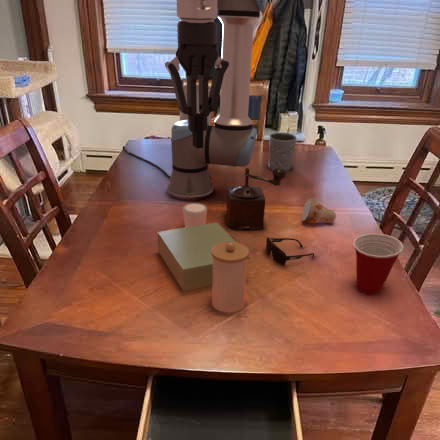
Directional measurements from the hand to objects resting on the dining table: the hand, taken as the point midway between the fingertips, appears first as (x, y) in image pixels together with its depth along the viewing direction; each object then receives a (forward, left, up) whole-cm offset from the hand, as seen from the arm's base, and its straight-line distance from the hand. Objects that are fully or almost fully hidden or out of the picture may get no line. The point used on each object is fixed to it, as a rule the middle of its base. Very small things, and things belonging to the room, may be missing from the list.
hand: (197, 146), depth 100 cm
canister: (+17, -7, -30) cm, 35 cm away
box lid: (+1, 0, -24) cm, 24 cm away
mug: (+6, +43, -30) cm, 53 cm away
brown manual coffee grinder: (-7, +28, -30) cm, 42 cm away
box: (+1, -1, -30) cm, 30 cm away
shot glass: (-15, +12, -30) cm, 36 cm away
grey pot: (-32, +72, -30) cm, 85 cm away
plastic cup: (+35, +22, -30) cm, 51 cm away
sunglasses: (+13, +20, -30) cm, 39 cm away
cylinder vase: (-67, +60, -30) cm, 95 cm away
